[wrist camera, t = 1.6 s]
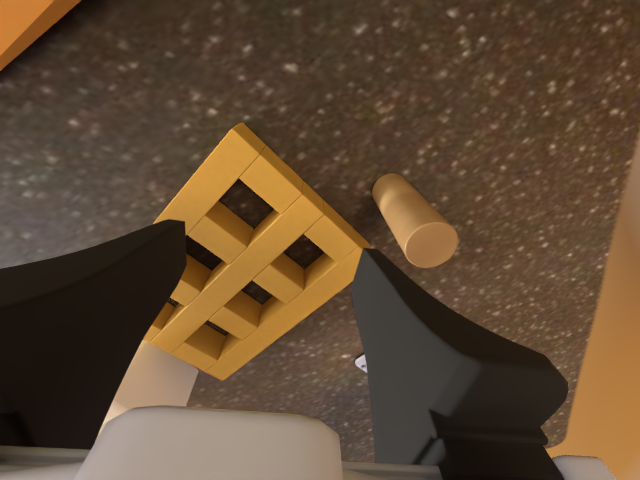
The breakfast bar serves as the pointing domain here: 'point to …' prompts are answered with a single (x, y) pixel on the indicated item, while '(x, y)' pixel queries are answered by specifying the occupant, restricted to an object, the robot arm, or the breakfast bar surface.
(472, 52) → the breakfast bar surface
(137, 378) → the medicine bottle
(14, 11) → the carrot
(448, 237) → the peg
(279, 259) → the peg block
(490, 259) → the breakfast bar surface
